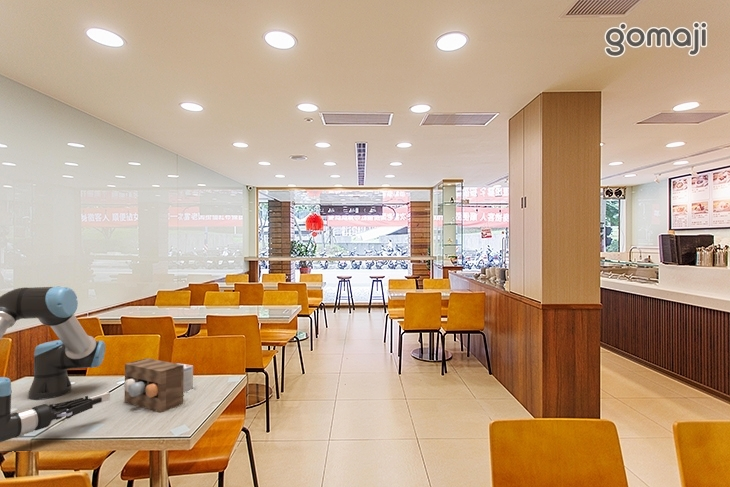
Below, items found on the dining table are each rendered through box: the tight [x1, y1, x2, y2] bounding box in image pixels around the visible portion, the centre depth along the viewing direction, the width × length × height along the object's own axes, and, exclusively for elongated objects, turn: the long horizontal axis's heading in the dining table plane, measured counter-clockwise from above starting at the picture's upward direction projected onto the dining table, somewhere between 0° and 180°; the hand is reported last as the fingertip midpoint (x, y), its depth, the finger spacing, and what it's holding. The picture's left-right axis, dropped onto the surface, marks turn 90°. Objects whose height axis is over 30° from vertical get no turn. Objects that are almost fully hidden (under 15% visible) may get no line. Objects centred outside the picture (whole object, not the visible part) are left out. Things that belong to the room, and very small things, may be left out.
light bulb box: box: [175, 362, 194, 393], centre depth 180 cm, size 11×7×11 cm, turn 67°
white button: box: [123, 378, 147, 392], centre depth 164 cm, size 5×8×5 cm, turn 153°
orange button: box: [145, 383, 158, 398], centre depth 158 cm, size 5×8×5 cm, turn 153°
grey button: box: [128, 381, 147, 397], centre depth 159 cm, size 5×8×5 cm, turn 153°
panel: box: [124, 357, 184, 413], centre depth 163 cm, size 24×10×16 cm, turn 63°
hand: (108, 396), depth 147 cm, fingers closed
